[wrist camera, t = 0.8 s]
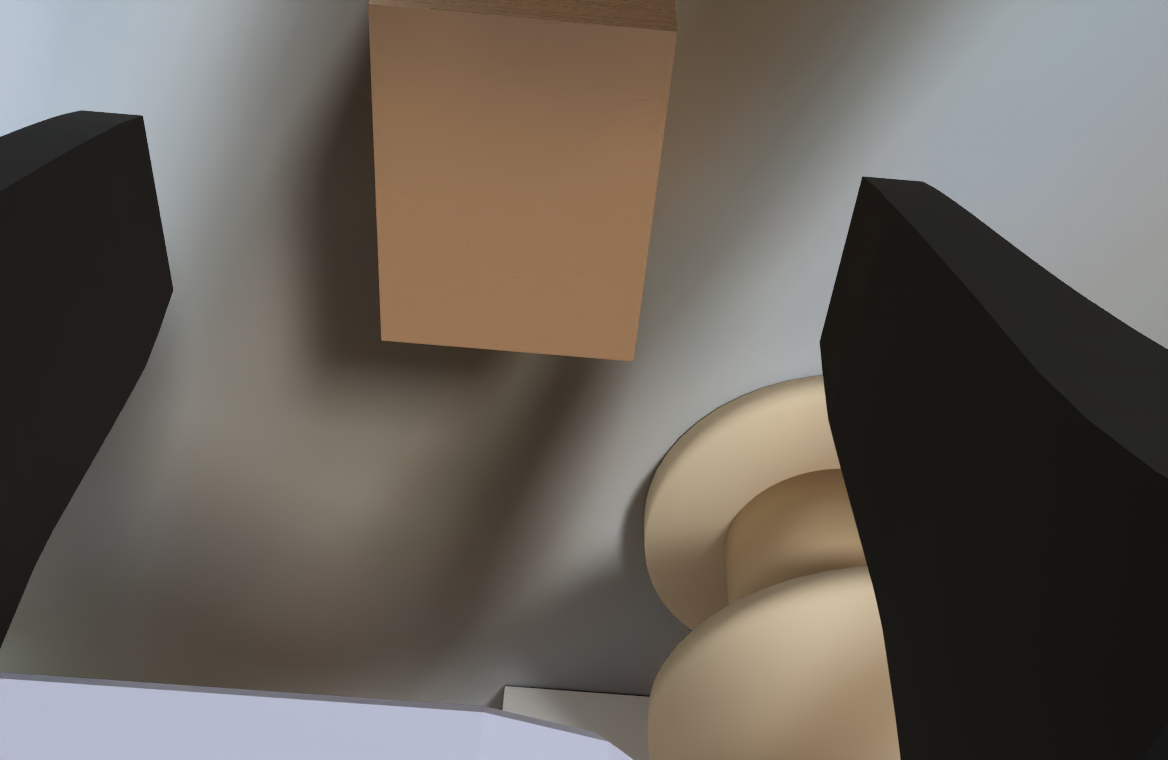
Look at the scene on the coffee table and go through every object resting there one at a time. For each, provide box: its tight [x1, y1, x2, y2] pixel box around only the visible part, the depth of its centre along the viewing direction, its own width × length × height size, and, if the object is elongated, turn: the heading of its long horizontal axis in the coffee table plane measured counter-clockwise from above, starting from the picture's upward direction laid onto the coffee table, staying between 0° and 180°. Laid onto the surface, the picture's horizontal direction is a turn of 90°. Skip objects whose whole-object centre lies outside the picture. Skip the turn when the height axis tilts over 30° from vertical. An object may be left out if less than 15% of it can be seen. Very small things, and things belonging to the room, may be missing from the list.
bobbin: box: [644, 375, 901, 760], centre depth 19 cm, size 7×7×5 cm
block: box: [368, 0, 677, 361], centre depth 14 cm, size 3×4×5 cm
